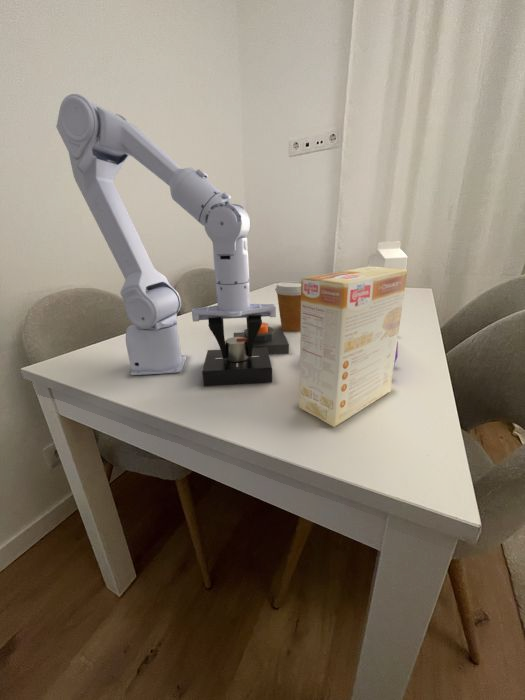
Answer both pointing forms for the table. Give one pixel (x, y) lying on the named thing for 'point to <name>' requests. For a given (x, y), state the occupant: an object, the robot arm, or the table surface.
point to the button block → (269, 341)
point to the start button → (263, 328)
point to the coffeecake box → (348, 339)
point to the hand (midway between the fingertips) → (237, 355)
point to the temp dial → (236, 349)
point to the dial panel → (237, 369)
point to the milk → (388, 256)
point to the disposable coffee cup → (289, 305)
